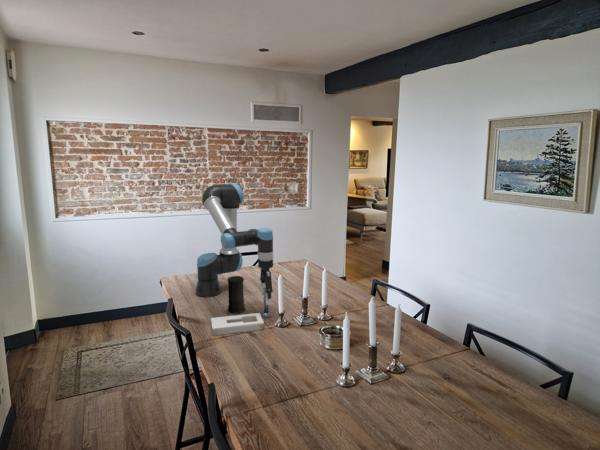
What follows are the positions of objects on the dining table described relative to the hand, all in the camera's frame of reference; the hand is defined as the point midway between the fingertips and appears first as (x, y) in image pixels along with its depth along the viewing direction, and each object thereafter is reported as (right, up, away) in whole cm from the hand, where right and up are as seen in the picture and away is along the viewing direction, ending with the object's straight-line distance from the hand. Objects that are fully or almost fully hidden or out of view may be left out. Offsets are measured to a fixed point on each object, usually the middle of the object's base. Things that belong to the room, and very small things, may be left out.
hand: (266, 299), depth 201 cm
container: (-17, -8, +9) cm, 20 cm away
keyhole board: (-13, -11, -11) cm, 20 cm away
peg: (0, -9, +2) cm, 9 cm away
